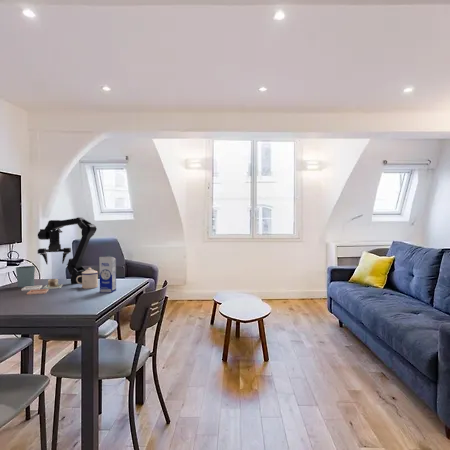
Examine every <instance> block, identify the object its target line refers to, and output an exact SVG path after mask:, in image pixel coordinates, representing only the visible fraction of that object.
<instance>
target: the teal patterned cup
mask: <svg viewBox="0 0 450 450" xmlns="http://www.w3.org/2000/svg"><path fill="white" fill-rule="evenodd" d="M35 271H36V266H35V265H24V266H16V267H15V272H16V281H17V283H16V284H17V288H24V287H25V286H35Z"/></svg>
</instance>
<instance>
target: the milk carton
mask: <svg viewBox="0 0 450 450" xmlns="http://www.w3.org/2000/svg"><path fill="white" fill-rule="evenodd" d="M98 261H99V293H102V294H103V293H104V294H105V293H108V294H109V293H111V294H112V293H114V292H116V291H117V258H115V257H114V256H112V255H106V256H99V259H98Z"/></svg>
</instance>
